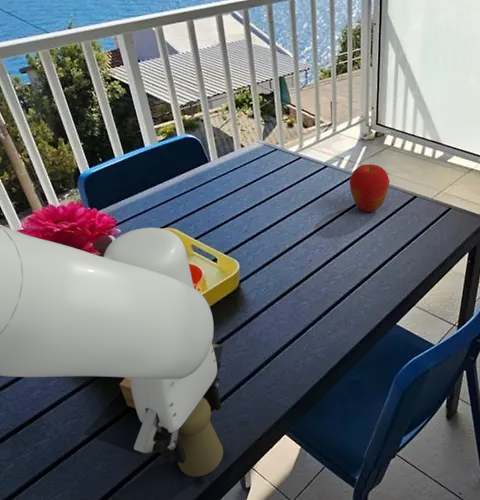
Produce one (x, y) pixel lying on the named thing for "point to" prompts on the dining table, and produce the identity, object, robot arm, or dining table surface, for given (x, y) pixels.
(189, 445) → the olive rounded figure
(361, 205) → the apple
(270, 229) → the dining table surface
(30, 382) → the dining table surface
